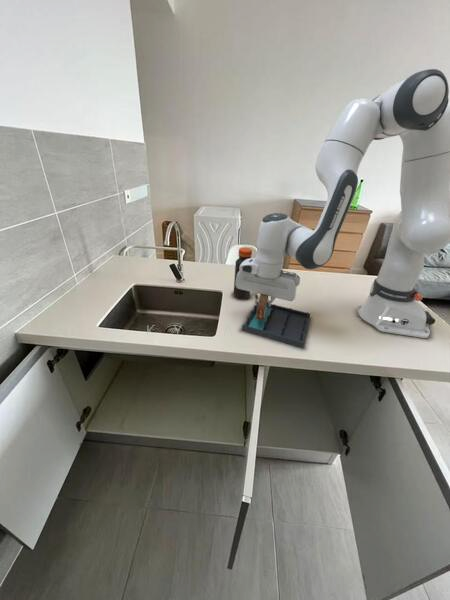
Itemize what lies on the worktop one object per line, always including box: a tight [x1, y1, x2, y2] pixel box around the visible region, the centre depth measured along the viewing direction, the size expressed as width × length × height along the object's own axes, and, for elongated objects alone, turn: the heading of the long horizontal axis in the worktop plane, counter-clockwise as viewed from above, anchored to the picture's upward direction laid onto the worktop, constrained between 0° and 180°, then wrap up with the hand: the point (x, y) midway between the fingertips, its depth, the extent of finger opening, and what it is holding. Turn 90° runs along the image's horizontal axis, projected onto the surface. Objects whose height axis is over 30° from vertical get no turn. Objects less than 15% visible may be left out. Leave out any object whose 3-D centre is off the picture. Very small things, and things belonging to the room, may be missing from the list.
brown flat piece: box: [256, 294, 269, 320], centre depth 84 cm, size 15×3×8 cm, turn 165°
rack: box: [241, 303, 311, 349], centre depth 84 cm, size 20×18×4 cm
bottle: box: [233, 247, 253, 300], centre depth 96 cm, size 7×7×20 cm
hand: (262, 304), depth 84 cm, fingers closed on brown flat piece, 3 cm apart
